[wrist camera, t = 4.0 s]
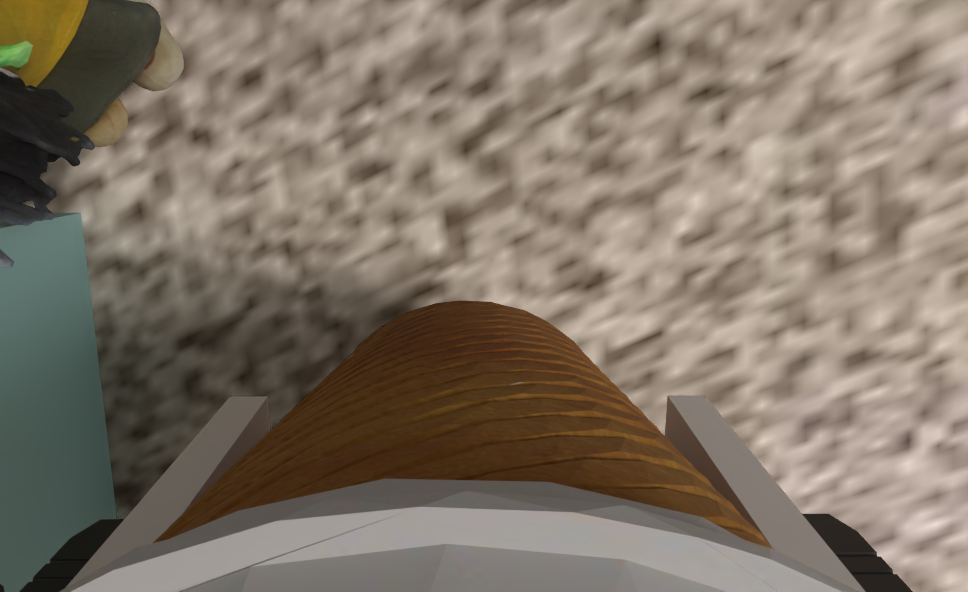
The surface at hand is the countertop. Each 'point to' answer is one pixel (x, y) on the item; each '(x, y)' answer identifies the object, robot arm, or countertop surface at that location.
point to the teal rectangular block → (48, 398)
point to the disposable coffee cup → (461, 483)
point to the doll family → (69, 87)
